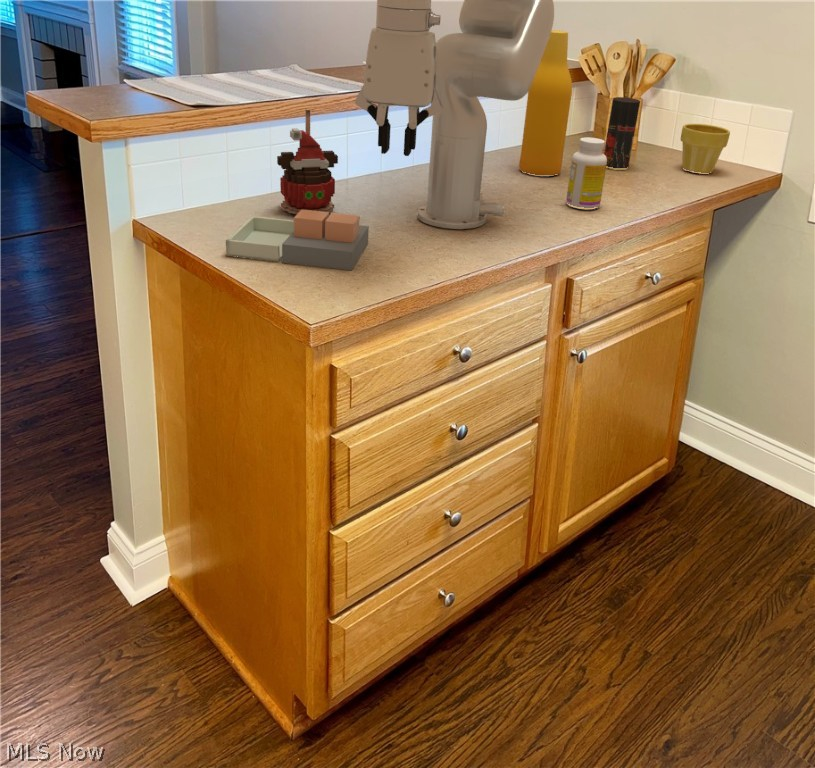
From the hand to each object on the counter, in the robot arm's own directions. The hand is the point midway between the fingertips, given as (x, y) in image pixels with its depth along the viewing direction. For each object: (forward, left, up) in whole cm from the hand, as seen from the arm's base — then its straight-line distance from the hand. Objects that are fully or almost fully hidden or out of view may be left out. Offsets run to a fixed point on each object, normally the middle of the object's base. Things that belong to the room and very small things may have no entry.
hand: (396, 151), depth 131 cm
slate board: (+10, 0, -17) cm, 20 cm away
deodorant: (-39, -75, -17) cm, 86 cm away
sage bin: (+21, 0, -17) cm, 27 cm away
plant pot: (-58, -79, -17) cm, 100 cm away
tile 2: (+8, 0, -14) cm, 16 cm away
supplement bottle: (-31, -41, -17) cm, 54 cm away
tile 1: (+13, 0, -14) cm, 19 cm away
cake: (+19, -20, -17) cm, 33 cm away
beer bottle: (-22, -64, -17) cm, 70 cm away
